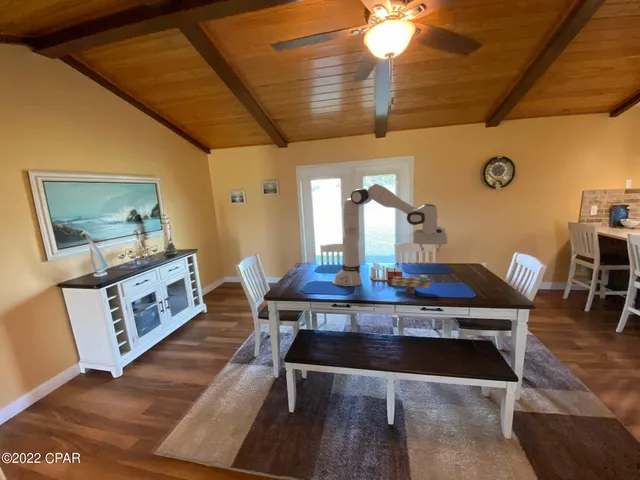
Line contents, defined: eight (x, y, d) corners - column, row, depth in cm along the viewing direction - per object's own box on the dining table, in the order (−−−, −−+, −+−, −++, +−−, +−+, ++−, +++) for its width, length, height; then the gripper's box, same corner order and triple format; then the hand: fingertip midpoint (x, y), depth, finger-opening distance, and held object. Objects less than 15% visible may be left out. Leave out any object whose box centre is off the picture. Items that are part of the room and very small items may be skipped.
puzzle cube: (402, 285, 198) (402, 271, 196) (387, 284, 200) (387, 271, 198) (400, 280, 208) (400, 268, 206) (387, 280, 210) (387, 267, 208)
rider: (419, 284, 179) (419, 276, 178) (420, 281, 183) (420, 274, 182) (427, 284, 177) (427, 277, 176) (427, 282, 181) (427, 275, 180)
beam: (391, 292, 185) (391, 280, 183) (393, 287, 193) (393, 276, 191) (429, 296, 175) (429, 283, 174) (430, 291, 184) (430, 278, 182)
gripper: (412, 230, 176) (412, 251, 179) (446, 230, 165) (446, 252, 168) (414, 228, 182) (414, 249, 184) (447, 228, 171) (448, 250, 173)
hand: (430, 250), depth 176 cm, fingers open, 8 cm apart
